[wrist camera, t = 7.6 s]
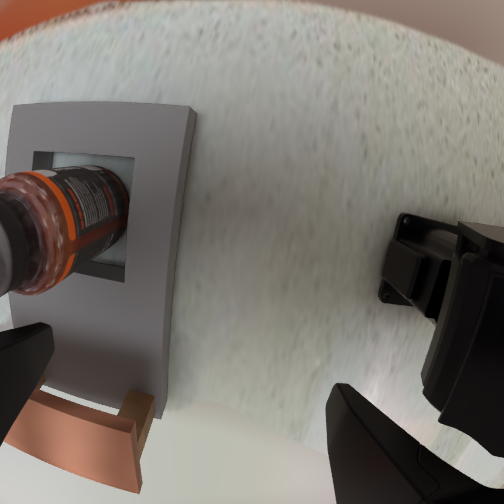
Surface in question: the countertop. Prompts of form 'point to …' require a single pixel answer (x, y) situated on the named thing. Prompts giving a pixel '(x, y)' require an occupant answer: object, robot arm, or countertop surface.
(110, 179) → the supplement bottle
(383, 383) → the countertop surface
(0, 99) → the countertop surface
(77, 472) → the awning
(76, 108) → the socket plate
